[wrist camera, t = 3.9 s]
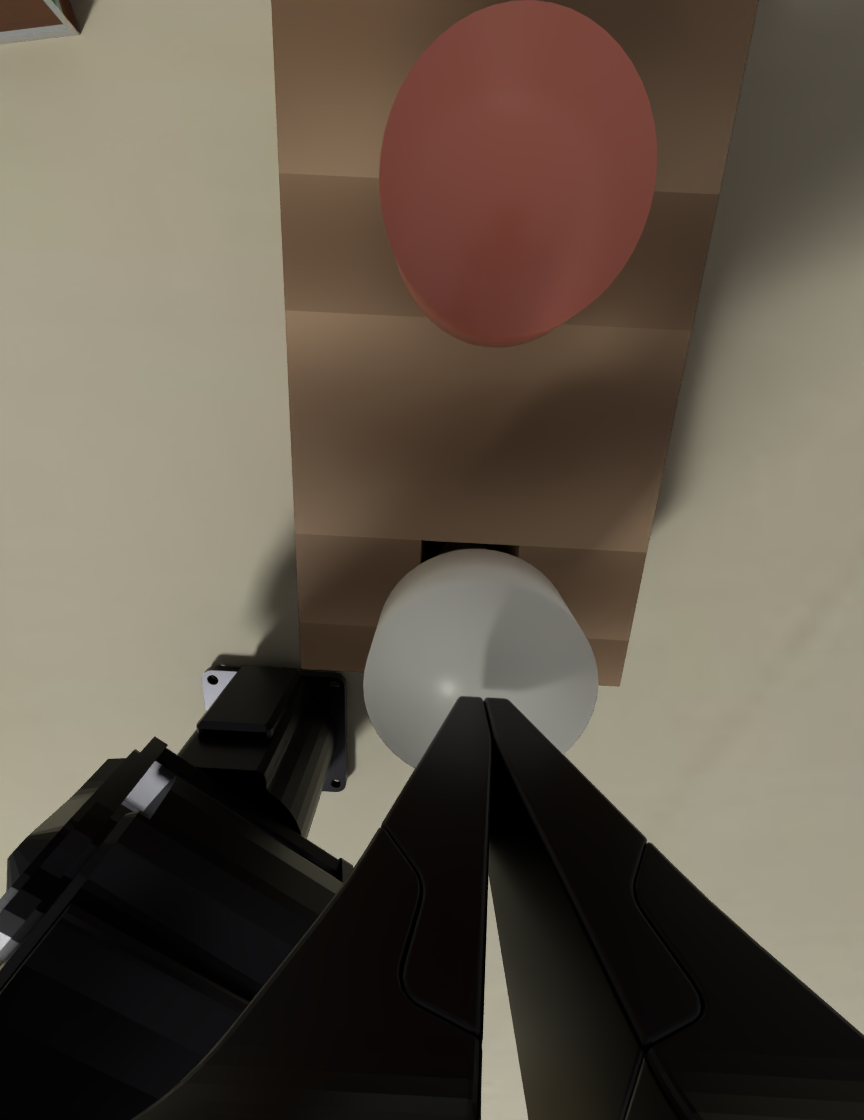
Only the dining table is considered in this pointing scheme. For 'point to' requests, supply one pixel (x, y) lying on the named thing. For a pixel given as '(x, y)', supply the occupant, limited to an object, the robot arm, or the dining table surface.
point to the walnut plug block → (469, 370)
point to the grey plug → (476, 650)
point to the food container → (36, 20)
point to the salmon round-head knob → (516, 171)
